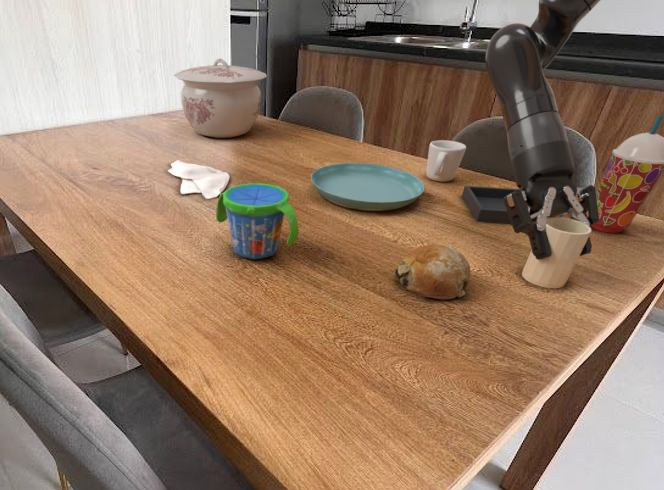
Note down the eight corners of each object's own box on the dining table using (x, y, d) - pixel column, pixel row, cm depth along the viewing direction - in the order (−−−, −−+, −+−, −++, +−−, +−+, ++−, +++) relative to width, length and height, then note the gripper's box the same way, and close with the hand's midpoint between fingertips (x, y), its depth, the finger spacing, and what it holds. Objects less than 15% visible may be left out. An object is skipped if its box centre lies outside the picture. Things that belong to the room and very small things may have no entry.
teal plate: (315, 215, 90) (316, 199, 88) (305, 175, 110) (306, 161, 108) (436, 217, 90) (440, 201, 88) (404, 177, 109) (407, 163, 107)
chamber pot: (255, 147, 129) (256, 66, 117) (165, 141, 134) (158, 62, 122) (272, 125, 151) (275, 54, 139) (195, 120, 156) (191, 51, 144)
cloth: (244, 195, 99) (244, 185, 97) (182, 201, 95) (181, 191, 94) (215, 160, 119) (215, 152, 117) (164, 165, 116) (163, 156, 114)
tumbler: (555, 270, 73) (580, 218, 67) (571, 290, 68) (599, 235, 63) (516, 267, 73) (537, 215, 68) (528, 286, 69) (553, 232, 63)
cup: (450, 190, 102) (460, 154, 98) (415, 183, 106) (423, 148, 101) (459, 177, 110) (469, 143, 105) (426, 171, 113) (434, 138, 109)
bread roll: (439, 325, 66) (480, 290, 61) (383, 283, 67) (417, 245, 62) (450, 294, 73) (487, 259, 68) (398, 256, 74) (431, 220, 69)
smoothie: (580, 214, 91) (630, 108, 80) (630, 224, 88) (690, 115, 76) (577, 229, 86) (631, 117, 74) (630, 240, 82) (696, 124, 70)
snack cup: (201, 245, 79) (199, 189, 73) (244, 227, 85) (244, 174, 79) (267, 278, 70) (270, 217, 64) (309, 256, 76) (315, 198, 70)
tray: (546, 202, 97) (551, 190, 95) (573, 228, 86) (579, 216, 85) (461, 196, 99) (464, 185, 98) (476, 221, 88) (480, 209, 87)
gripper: (514, 140, 64) (540, 252, 62) (601, 136, 66) (630, 244, 64) (480, 166, 72) (502, 267, 69) (559, 161, 74) (584, 259, 71)
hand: (563, 256), depth 66 cm, fingers closed on tumbler, 6 cm apart
